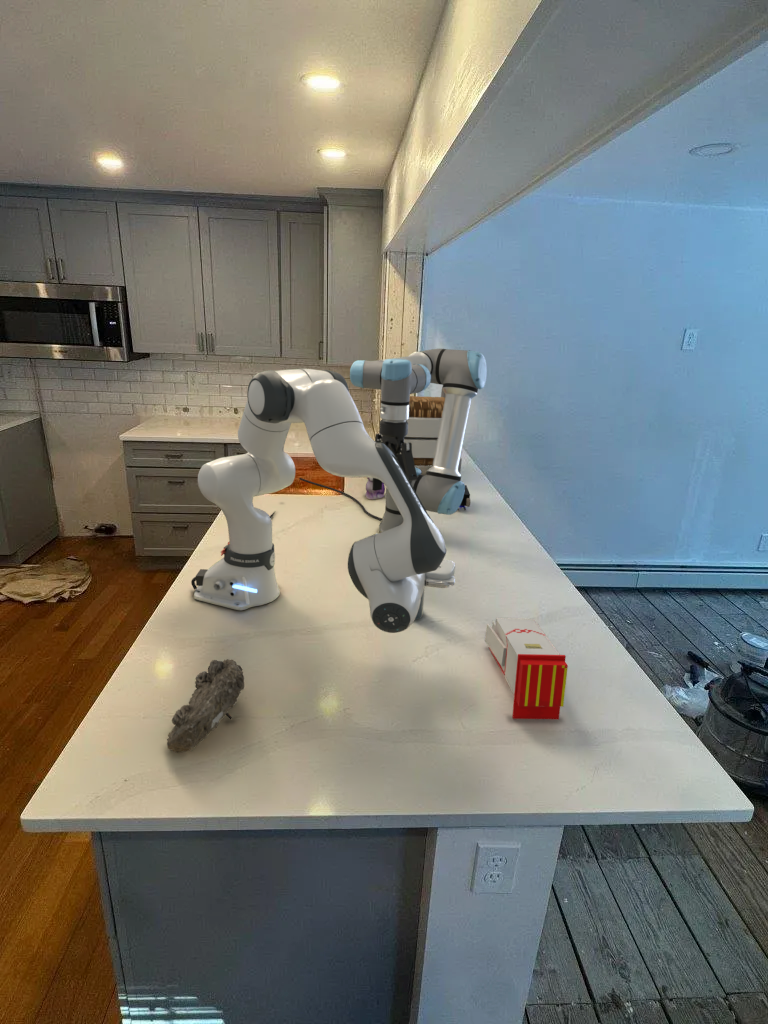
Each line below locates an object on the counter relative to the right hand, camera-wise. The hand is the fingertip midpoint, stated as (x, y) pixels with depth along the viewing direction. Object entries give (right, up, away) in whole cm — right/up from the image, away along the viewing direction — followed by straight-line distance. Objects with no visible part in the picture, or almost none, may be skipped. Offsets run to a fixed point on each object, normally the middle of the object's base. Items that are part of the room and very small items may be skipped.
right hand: (390, 496), depth 156 cm
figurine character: (+29, -2, +74) cm, 80 cm away
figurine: (-6, +2, +82) cm, 82 cm away
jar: (+6, -31, -9) cm, 33 cm away
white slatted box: (+16, +15, +119) cm, 121 cm away
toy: (+28, -40, -32) cm, 59 cm away
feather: (-43, -5, +56) cm, 71 cm away
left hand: (+5, -14, -27) cm, 31 cm away
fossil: (-34, -43, -48) cm, 73 cm away
